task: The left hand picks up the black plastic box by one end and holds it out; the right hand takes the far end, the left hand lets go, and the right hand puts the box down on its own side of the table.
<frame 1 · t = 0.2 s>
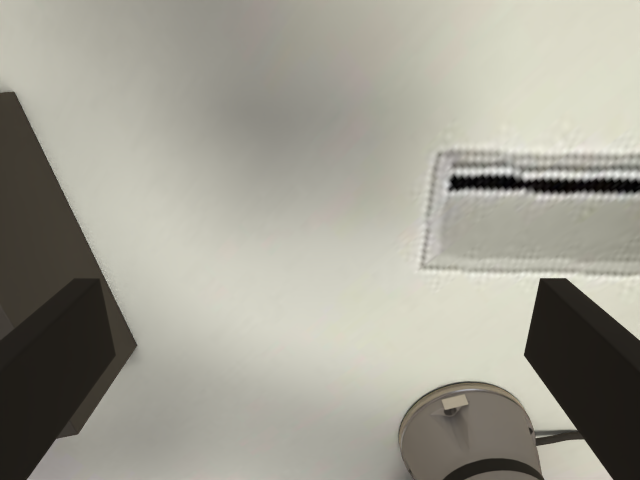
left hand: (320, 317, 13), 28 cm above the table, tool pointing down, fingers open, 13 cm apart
box: (44, 242, 42), on the table
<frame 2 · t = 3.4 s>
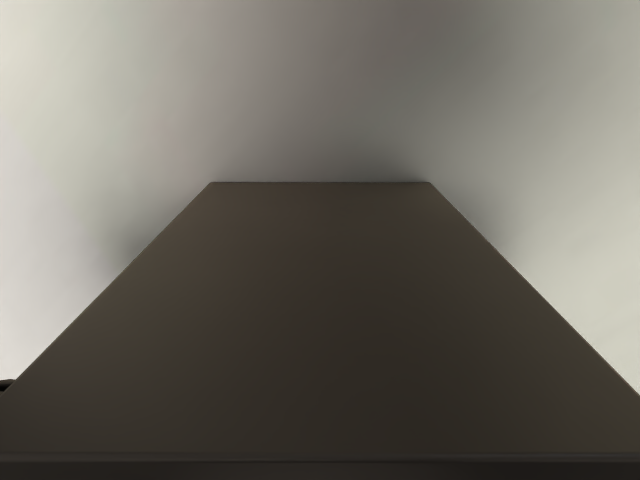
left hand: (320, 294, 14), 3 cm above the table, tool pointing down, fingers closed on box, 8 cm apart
box: (320, 451, 21), on the table, touching left hand
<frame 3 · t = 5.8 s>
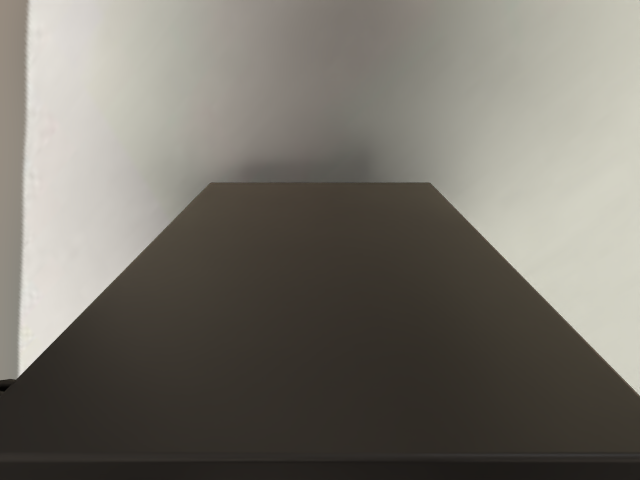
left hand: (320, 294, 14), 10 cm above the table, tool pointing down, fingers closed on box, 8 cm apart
box: (320, 451, 21), point 7 cm above the table, touching left hand
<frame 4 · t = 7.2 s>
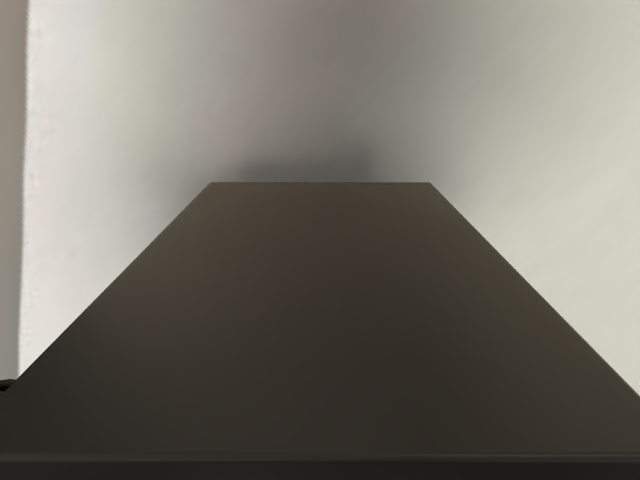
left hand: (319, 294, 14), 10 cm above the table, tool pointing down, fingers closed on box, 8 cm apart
box: (320, 451, 21), point 7 cm above the table, touching left hand, right hand
when the left hand's fingers open (10 cm above the table, at t = 8.4 s): box stays where it is, held by the right hand.
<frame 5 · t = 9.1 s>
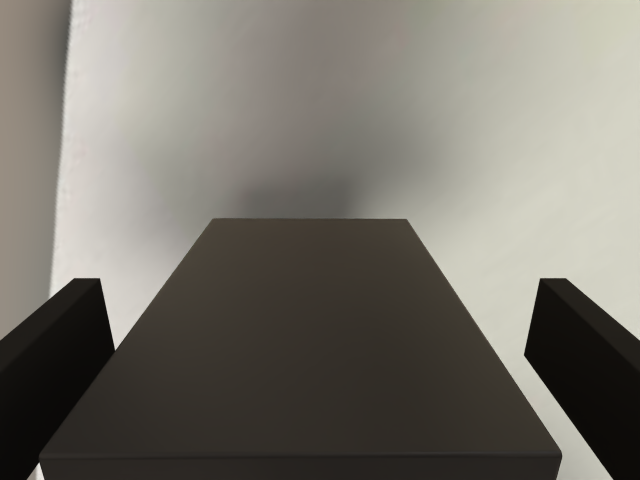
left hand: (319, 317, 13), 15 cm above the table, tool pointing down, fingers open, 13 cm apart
box: (310, 458, 23), point 9 cm above the table, touching right hand
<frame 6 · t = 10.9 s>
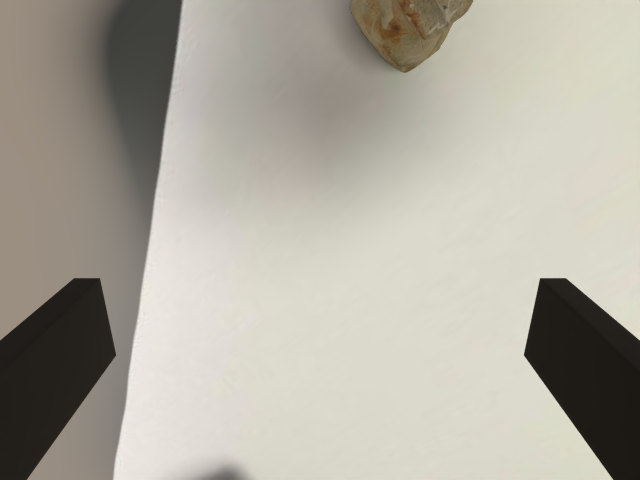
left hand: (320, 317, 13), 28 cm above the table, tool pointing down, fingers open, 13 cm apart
sculpture: (390, 25, 35), on the table
when the right hand's fingers open (4 cm above the table, at t = 12.6 s): box drops 1 cm, on the table.
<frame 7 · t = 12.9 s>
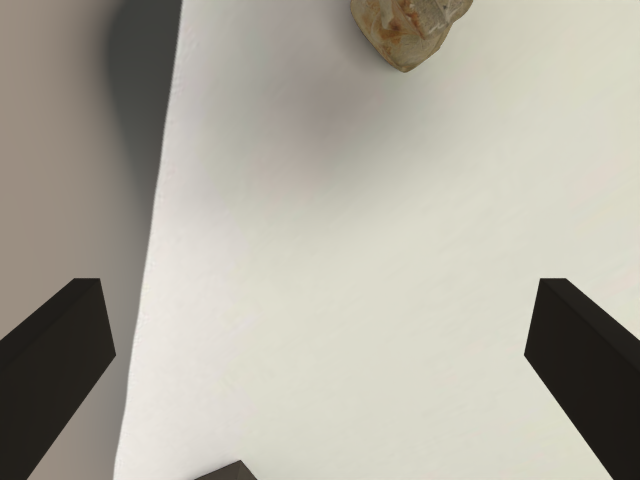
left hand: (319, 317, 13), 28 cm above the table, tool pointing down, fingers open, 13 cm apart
sculpture: (390, 25, 35), on the table
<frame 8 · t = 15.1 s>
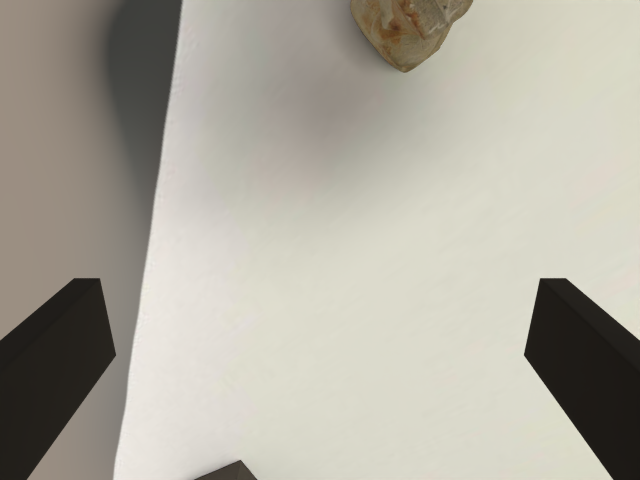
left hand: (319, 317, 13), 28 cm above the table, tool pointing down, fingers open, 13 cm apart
sculpture: (390, 25, 35), on the table
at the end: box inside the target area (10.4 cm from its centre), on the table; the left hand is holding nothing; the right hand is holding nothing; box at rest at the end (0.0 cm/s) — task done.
